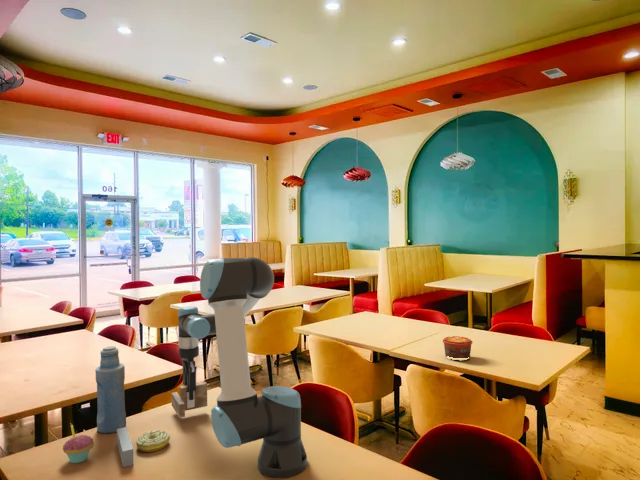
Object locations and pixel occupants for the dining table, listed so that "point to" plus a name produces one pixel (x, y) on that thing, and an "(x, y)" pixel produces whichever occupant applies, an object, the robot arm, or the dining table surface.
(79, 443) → the cupcake
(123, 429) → the backstop
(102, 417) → the bottle
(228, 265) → the robot arm
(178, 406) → the pusher
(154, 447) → the decorated donut
